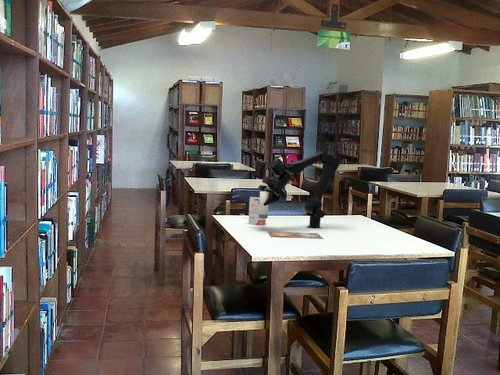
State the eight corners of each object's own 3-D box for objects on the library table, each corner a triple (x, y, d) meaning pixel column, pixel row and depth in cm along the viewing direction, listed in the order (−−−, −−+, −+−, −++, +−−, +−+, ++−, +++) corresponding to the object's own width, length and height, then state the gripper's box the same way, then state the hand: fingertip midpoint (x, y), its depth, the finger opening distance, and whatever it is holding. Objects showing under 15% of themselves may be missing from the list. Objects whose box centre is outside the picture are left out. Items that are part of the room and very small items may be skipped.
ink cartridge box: (265, 224, 276) (267, 197, 274) (263, 225, 271) (265, 198, 270) (250, 222, 278) (251, 195, 277) (248, 224, 273) (249, 196, 272)
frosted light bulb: (258, 216, 256) (259, 191, 254) (266, 217, 256) (268, 191, 255) (259, 218, 251) (260, 192, 250) (268, 218, 252) (269, 192, 250)
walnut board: (267, 233, 251) (267, 231, 250) (317, 234, 253) (317, 233, 253) (270, 238, 238) (270, 237, 238) (323, 240, 240) (323, 238, 240)
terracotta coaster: (270, 232, 249) (271, 231, 249) (289, 233, 249) (289, 232, 249) (273, 236, 240) (273, 235, 240) (292, 236, 241) (292, 236, 241)
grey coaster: (297, 233, 250) (297, 232, 250) (315, 234, 251) (315, 233, 251) (300, 237, 241) (300, 236, 241) (319, 237, 242) (319, 237, 242)
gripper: (262, 169, 261) (242, 191, 257) (283, 172, 245) (262, 195, 241) (274, 184, 266) (255, 206, 262) (295, 188, 250) (275, 211, 246)
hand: (261, 204), depth 252 cm, fingers closed on frosted light bulb, 4 cm apart
